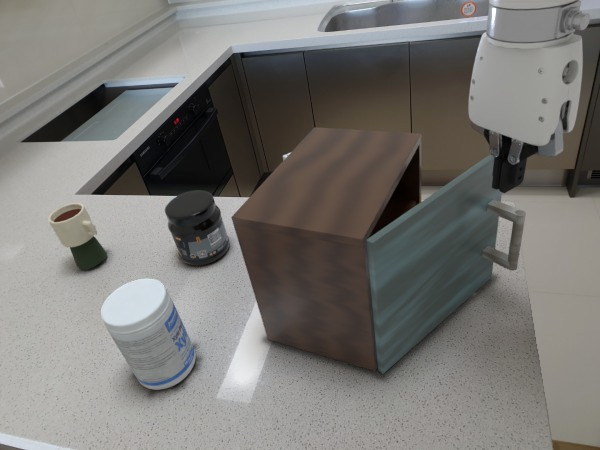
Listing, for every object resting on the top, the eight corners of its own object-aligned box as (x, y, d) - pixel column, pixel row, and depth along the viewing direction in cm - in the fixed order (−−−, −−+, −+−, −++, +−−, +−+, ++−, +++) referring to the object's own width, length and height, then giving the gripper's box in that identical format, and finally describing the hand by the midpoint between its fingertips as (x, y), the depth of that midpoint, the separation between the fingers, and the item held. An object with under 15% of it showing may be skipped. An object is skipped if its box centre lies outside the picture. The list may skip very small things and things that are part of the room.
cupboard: (421, 255, 84) (421, 133, 70) (375, 371, 66) (362, 239, 52) (331, 239, 92) (314, 127, 78) (267, 339, 74) (230, 217, 59)
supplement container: (187, 237, 100) (169, 191, 93) (234, 232, 99) (220, 185, 92) (175, 270, 92) (154, 222, 85) (226, 265, 90) (210, 216, 83)
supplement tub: (205, 371, 71) (175, 305, 62) (145, 404, 68) (105, 338, 59) (186, 332, 78) (157, 267, 69) (131, 359, 75) (94, 295, 66)
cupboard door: (521, 292, 73) (545, 159, 59) (412, 397, 62) (409, 263, 48) (486, 274, 77) (500, 146, 63) (377, 370, 66) (366, 239, 52)
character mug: (123, 253, 99) (99, 204, 91) (102, 276, 94) (74, 225, 86) (85, 248, 103) (58, 200, 95) (62, 269, 98) (32, 220, 90)
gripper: (637, 20, 39) (588, 199, 50) (491, 3, 50) (477, 153, 61) (583, 44, 36) (543, 228, 47) (441, 21, 47) (435, 175, 58)
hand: (506, 186), depth 54 cm, fingers closed
